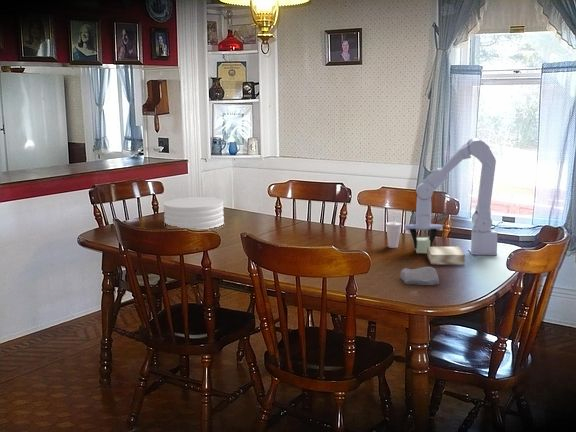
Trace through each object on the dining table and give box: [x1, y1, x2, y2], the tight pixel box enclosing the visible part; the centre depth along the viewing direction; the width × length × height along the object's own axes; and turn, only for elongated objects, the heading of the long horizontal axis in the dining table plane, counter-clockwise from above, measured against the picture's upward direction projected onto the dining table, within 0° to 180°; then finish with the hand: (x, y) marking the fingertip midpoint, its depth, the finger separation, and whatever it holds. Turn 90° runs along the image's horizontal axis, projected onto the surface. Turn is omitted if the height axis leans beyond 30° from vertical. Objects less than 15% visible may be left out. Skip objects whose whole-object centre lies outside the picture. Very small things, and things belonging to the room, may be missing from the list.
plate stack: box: [162, 196, 225, 229], centre depth 308 cm, size 28×28×12 cm
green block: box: [415, 237, 430, 254], centre depth 255 cm, size 5×5×5 cm
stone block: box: [400, 266, 440, 286], centre depth 218 cm, size 12×5×10 cm
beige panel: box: [426, 246, 466, 266], centre depth 243 cm, size 12×12×4 cm
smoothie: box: [385, 212, 402, 249], centre depth 262 cm, size 6×6×14 cm
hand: (422, 248), depth 255 cm, fingers closed on green block, 5 cm apart
